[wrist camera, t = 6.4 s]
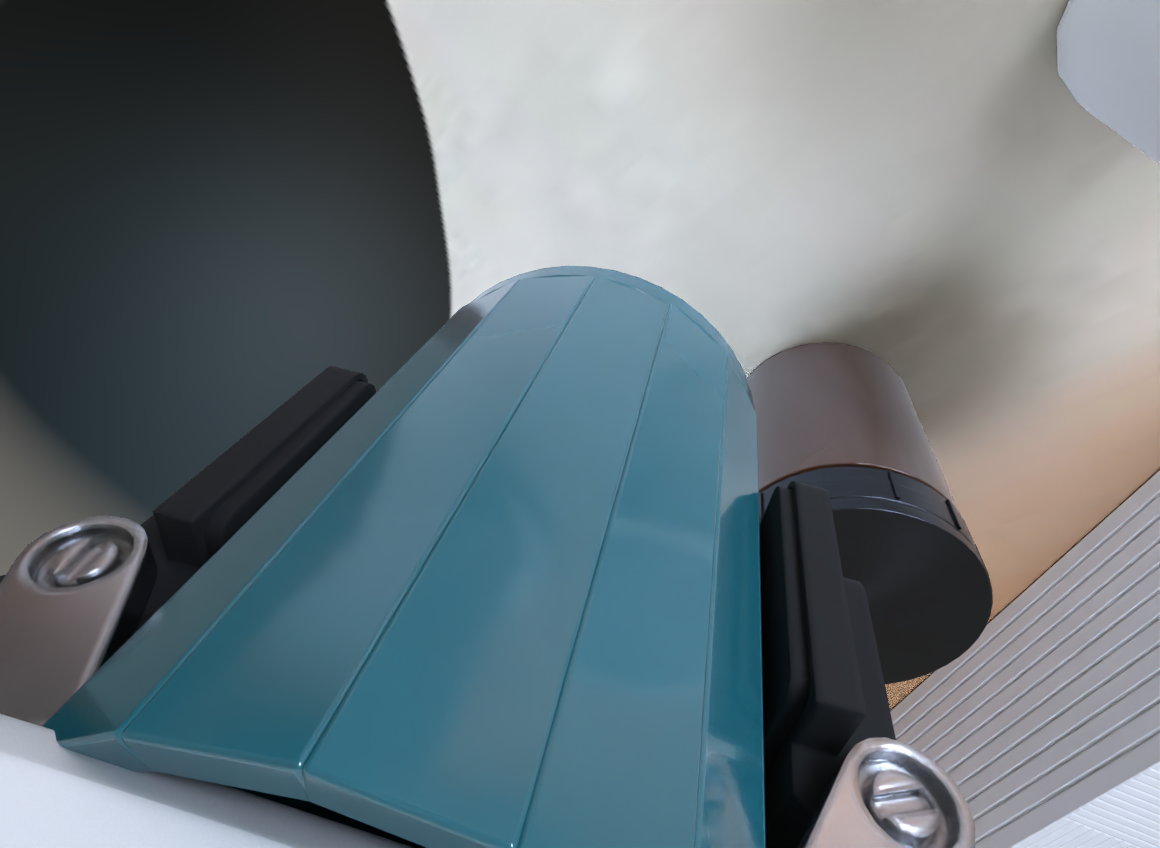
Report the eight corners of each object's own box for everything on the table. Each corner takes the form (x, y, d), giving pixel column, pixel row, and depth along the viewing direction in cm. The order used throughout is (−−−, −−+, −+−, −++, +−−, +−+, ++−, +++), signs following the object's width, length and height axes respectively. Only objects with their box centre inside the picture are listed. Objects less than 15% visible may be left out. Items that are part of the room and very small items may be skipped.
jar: (732, 343, 31) (725, 490, 21) (922, 339, 29) (1011, 501, 19) (732, 482, 35) (726, 657, 25) (897, 487, 33) (959, 681, 23)
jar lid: (725, 462, 23) (723, 502, 21) (995, 469, 20) (1021, 514, 19) (726, 626, 27) (724, 673, 25) (949, 646, 25) (966, 698, 23)
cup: (397, 271, 12) (-179, 682, 5) (761, 256, 10) (795, 857, 3) (468, 538, 15) (205, 1023, 8) (751, 557, 14) (753, 1190, 6)
